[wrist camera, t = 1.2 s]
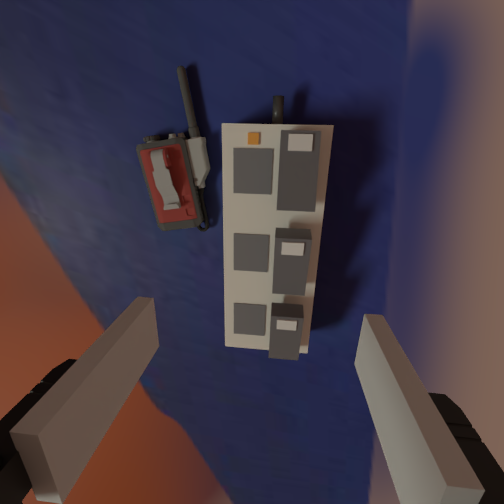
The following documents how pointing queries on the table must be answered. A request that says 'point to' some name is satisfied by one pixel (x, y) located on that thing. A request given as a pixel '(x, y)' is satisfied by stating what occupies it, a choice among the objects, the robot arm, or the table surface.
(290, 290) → the rocker
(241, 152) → the power strip
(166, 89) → the table surface
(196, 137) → the walkie-talkie
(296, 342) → the rocker
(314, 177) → the block
